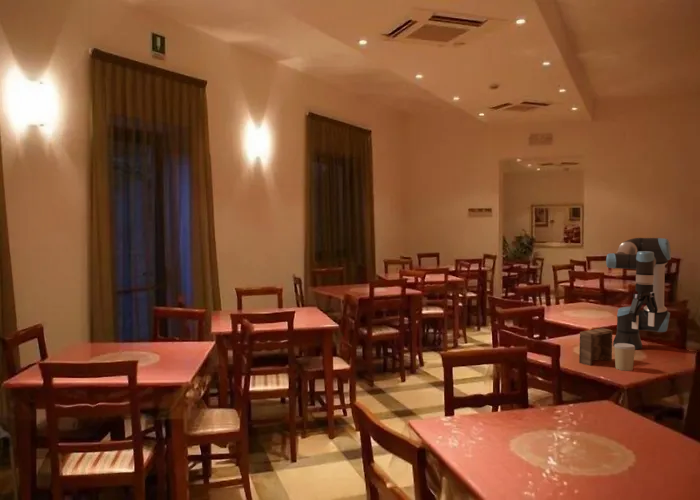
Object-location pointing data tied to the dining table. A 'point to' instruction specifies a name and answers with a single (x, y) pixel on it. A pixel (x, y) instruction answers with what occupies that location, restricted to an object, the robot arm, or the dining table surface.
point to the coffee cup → (624, 356)
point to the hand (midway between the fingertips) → (643, 327)
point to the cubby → (595, 345)
